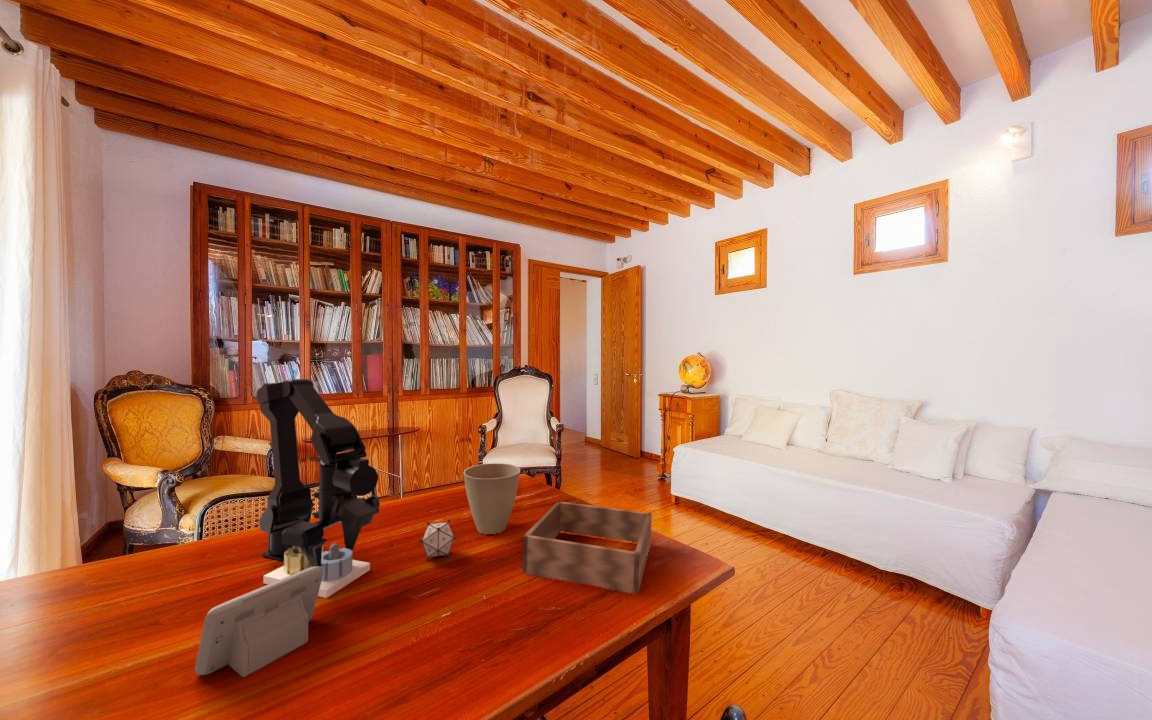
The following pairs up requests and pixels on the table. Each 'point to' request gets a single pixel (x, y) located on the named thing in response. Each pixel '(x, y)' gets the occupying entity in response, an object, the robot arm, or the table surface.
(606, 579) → the open rectangular box frame
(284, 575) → the gear board
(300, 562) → the brass gear
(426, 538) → the game die
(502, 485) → the plant pot
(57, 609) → the table surface
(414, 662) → the table surface
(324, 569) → the slate gear
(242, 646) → the digital clock
